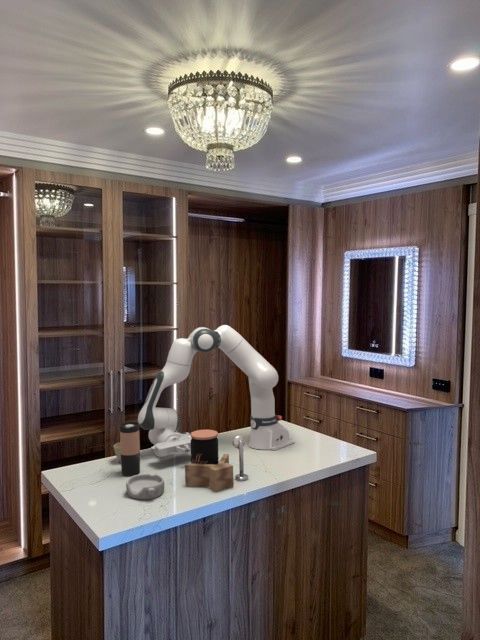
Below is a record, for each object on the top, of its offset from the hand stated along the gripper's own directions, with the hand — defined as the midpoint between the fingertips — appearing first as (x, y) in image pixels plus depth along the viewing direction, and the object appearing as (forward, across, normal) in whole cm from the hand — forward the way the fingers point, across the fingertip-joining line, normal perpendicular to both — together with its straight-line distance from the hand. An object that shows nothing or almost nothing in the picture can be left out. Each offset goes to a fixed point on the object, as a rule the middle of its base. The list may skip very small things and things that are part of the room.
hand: (186, 451), depth 199 cm
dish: (+12, -24, +8) cm, 28 cm away
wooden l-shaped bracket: (+21, 0, +7) cm, 22 cm away
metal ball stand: (+23, +11, +7) cm, 27 cm away
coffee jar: (+15, 0, +7) cm, 17 cm away
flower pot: (-24, -17, +7) cm, 30 cm away
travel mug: (-9, -21, +7) cm, 24 cm away
